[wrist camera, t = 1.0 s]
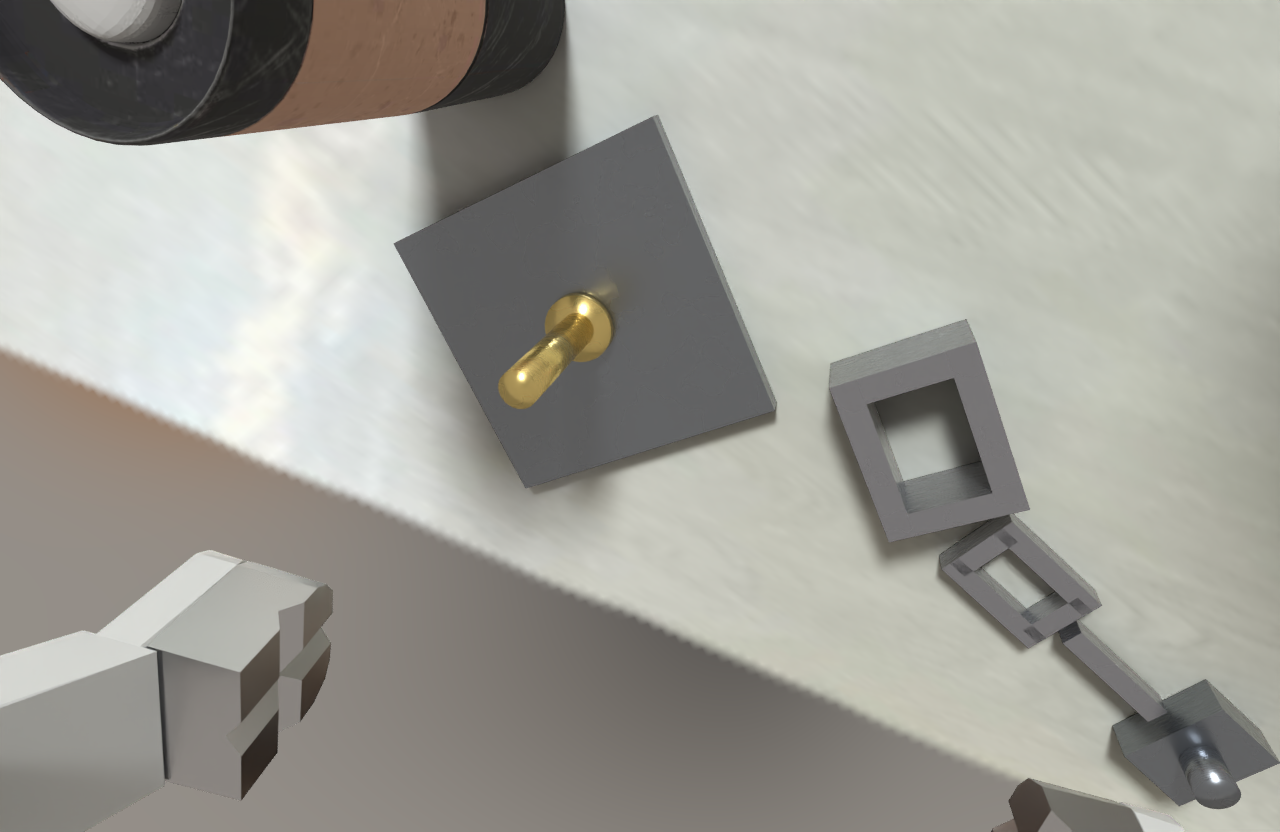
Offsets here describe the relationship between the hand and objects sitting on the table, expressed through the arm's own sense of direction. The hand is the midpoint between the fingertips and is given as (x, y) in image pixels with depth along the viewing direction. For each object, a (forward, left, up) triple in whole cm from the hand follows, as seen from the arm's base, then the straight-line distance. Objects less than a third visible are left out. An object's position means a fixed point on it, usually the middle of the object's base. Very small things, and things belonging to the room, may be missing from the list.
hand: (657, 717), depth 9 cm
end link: (-2, +10, -28) cm, 30 cm away
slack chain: (-6, +24, -28) cm, 38 cm away
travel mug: (+9, -14, -28) cm, 33 cm away
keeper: (+11, 0, -28) cm, 30 cm away
